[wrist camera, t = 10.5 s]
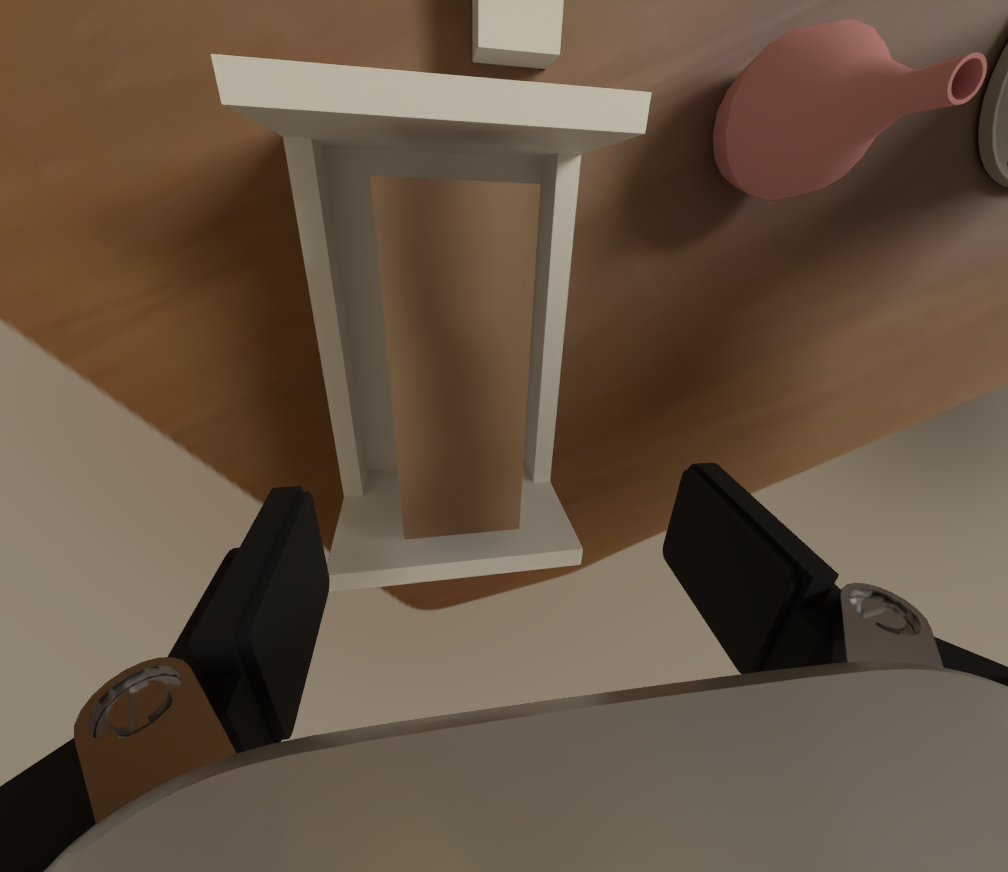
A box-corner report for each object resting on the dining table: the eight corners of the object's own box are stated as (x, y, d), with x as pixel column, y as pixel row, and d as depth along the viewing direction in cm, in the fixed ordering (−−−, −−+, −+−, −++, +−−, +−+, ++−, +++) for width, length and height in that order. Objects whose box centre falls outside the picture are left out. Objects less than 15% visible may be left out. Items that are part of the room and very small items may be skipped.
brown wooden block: (513, 189, 20) (540, 184, 16) (502, 478, 28) (519, 528, 23) (380, 183, 19) (370, 175, 15) (406, 485, 27) (404, 539, 22)
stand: (559, 137, 25) (651, 92, 15) (534, 465, 35) (580, 564, 25) (299, 120, 22) (210, 53, 13) (354, 477, 33) (327, 592, 23)
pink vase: (806, 175, 28) (1035, 157, 18) (698, 220, 28) (862, 227, 18) (809, 25, 25) (1100, -110, 14) (683, 76, 25) (880, -20, 14)
